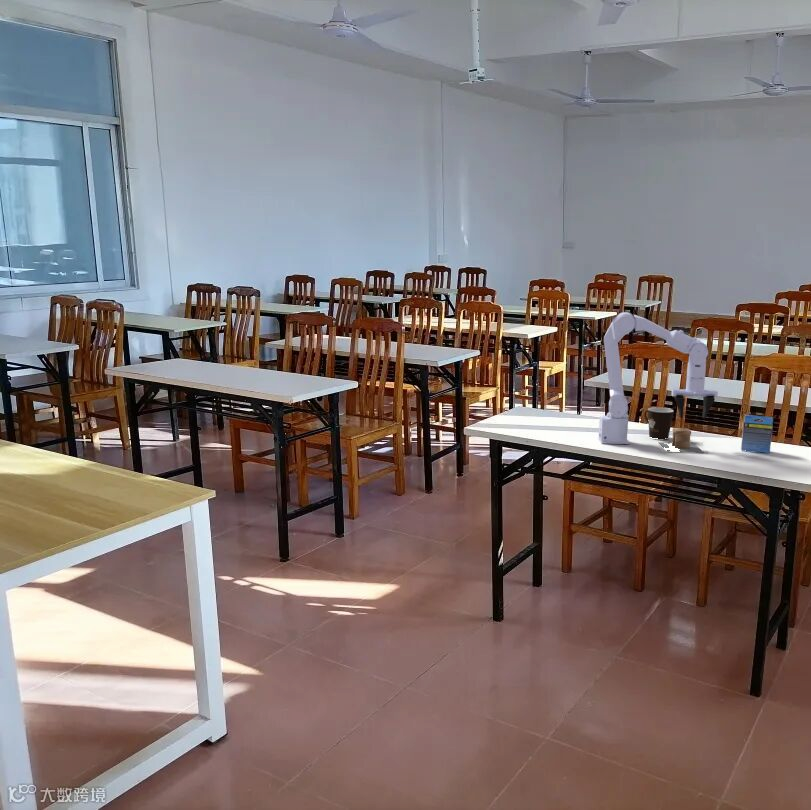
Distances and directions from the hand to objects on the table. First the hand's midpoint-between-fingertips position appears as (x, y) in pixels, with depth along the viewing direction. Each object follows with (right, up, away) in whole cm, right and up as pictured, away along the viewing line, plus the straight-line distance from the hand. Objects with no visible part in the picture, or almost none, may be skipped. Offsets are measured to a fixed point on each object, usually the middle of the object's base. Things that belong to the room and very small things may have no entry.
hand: (692, 417), depth 278 cm
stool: (-4, -10, -1) cm, 11 cm away
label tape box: (+20, -11, -3) cm, 23 cm away
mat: (-4, -10, -1) cm, 11 cm away
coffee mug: (-7, -7, +15) cm, 18 cm away
